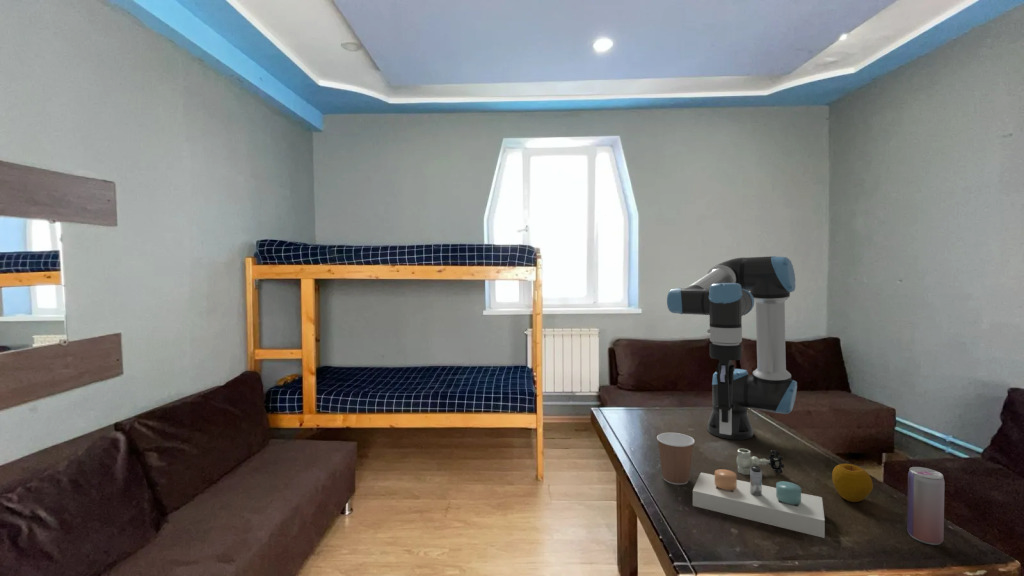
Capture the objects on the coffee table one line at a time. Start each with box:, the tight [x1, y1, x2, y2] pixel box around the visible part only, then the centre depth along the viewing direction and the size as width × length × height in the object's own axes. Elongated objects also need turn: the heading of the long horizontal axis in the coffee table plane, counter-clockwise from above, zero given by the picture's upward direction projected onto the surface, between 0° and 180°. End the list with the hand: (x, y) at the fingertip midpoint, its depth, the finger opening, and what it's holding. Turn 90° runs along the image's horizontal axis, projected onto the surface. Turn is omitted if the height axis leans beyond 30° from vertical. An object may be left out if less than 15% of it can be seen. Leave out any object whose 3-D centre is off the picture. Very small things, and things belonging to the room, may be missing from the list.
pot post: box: [749, 466, 763, 496], centre depth 114 cm, size 3×3×7 cm
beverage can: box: [906, 466, 945, 546], centre depth 101 cm, size 6×6×15 cm
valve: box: [735, 448, 785, 476], centre depth 135 cm, size 7×7×12 cm
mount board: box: [692, 472, 826, 539], centre depth 114 cm, size 12×28×4 cm, turn 58°
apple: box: [831, 463, 874, 503], centre depth 118 cm, size 8×8×9 cm
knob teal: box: [775, 481, 802, 506], centre depth 110 cm, size 5×5×7 cm
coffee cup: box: [656, 432, 696, 486], centre depth 131 cm, size 10×10×12 cm
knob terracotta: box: [714, 468, 738, 492], centre depth 118 cm, size 5×5×7 cm
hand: (725, 433), depth 117 cm, fingers closed
